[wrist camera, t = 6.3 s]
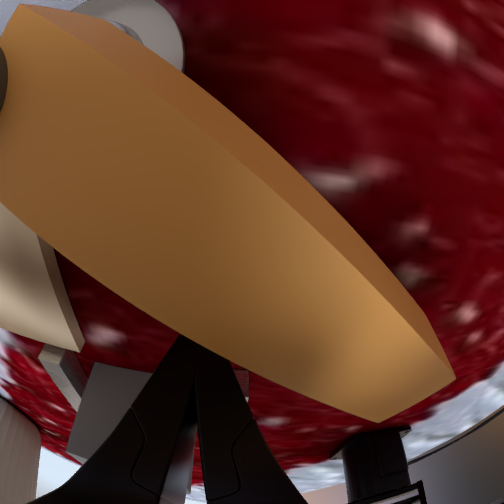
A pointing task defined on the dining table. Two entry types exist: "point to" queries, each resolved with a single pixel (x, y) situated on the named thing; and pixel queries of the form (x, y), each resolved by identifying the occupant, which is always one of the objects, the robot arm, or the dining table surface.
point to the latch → (200, 219)
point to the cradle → (173, 51)
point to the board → (33, 288)
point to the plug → (105, 409)
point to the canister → (18, 456)
